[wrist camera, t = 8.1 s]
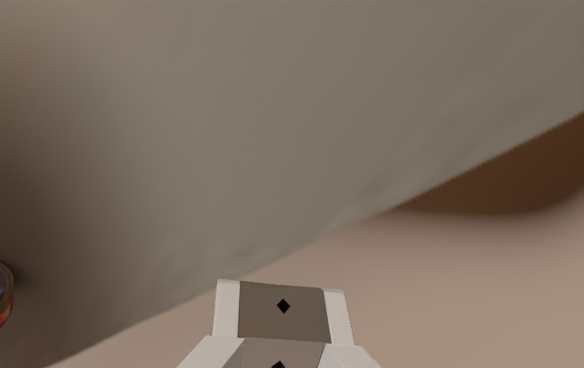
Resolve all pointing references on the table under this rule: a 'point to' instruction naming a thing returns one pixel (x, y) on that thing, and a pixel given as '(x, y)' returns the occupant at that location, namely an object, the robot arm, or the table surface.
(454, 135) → the table surface
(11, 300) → the tin
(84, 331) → the table surface
